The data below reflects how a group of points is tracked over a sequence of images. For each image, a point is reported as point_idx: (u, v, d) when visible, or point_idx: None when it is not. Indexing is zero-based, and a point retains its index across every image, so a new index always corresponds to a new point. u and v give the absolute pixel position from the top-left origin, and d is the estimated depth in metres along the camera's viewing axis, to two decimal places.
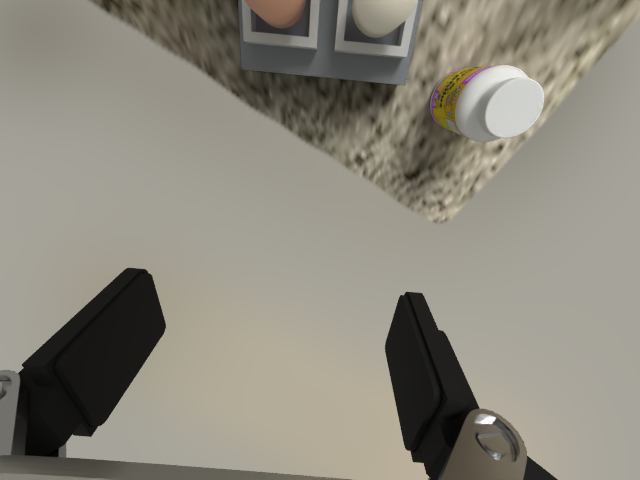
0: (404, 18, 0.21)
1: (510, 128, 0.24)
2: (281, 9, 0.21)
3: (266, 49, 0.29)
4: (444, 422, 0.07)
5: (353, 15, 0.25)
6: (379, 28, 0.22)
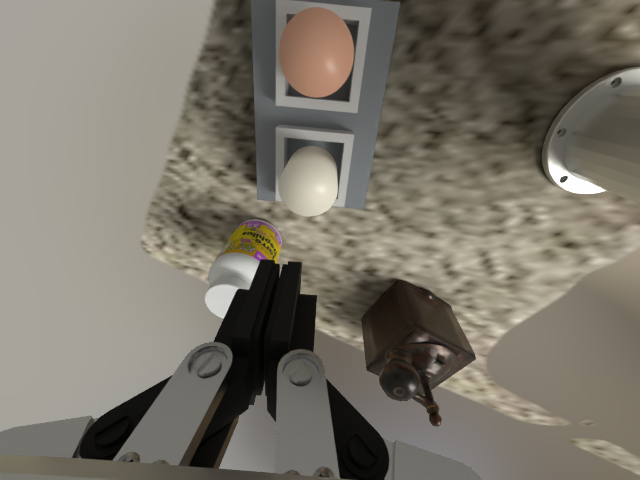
0: (287, 205, 0.23)
1: (213, 304, 0.27)
2: (288, 70, 0.18)
3: (275, 32, 0.23)
4: (274, 362, 0.08)
5: (302, 148, 0.25)
6: (279, 183, 0.22)
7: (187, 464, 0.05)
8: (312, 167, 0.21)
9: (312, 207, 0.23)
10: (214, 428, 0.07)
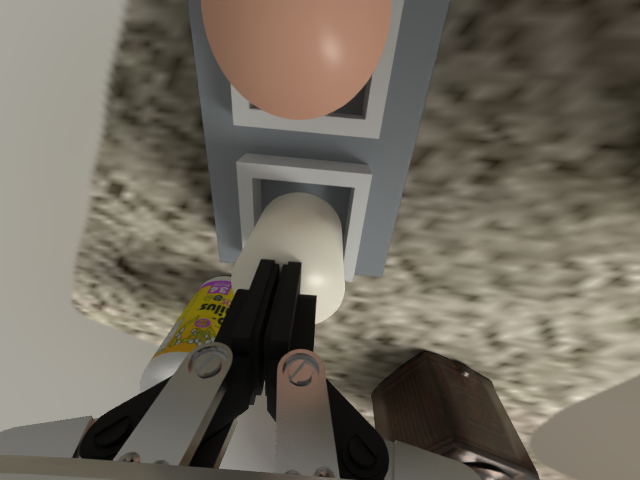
0: None
1: None
2: (228, 56, 0.07)
3: None
4: (274, 362, 0.08)
5: (282, 198, 0.14)
6: (232, 277, 0.12)
7: (187, 464, 0.05)
8: (294, 252, 0.11)
9: None
10: (214, 428, 0.07)
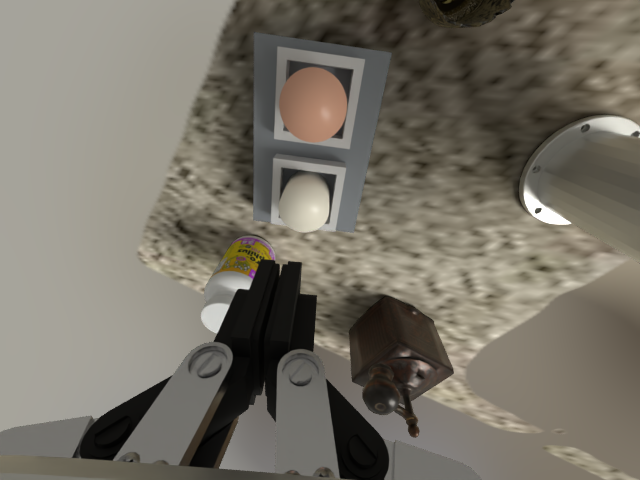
0: (285, 222, 0.27)
1: (208, 320, 0.29)
2: (286, 118, 0.20)
3: (275, 72, 0.25)
4: (274, 362, 0.08)
5: (299, 172, 0.29)
6: (279, 204, 0.26)
7: (187, 464, 0.05)
8: (308, 192, 0.25)
9: (307, 225, 0.27)
10: (214, 428, 0.07)
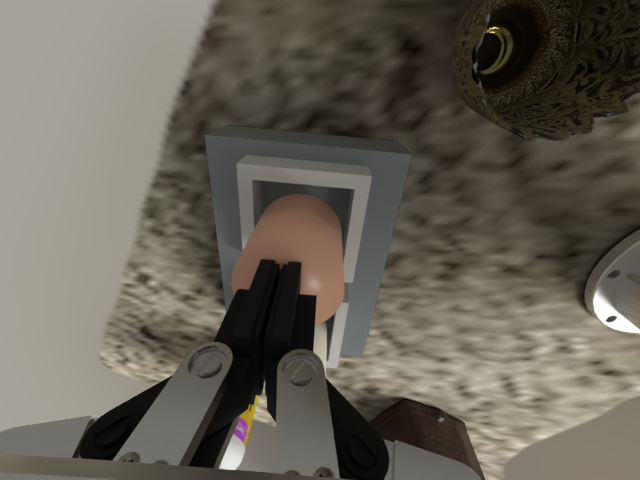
0: None
1: None
2: None
3: None
4: (274, 362, 0.08)
5: None
6: None
7: (187, 464, 0.05)
8: None
9: None
10: (214, 428, 0.07)
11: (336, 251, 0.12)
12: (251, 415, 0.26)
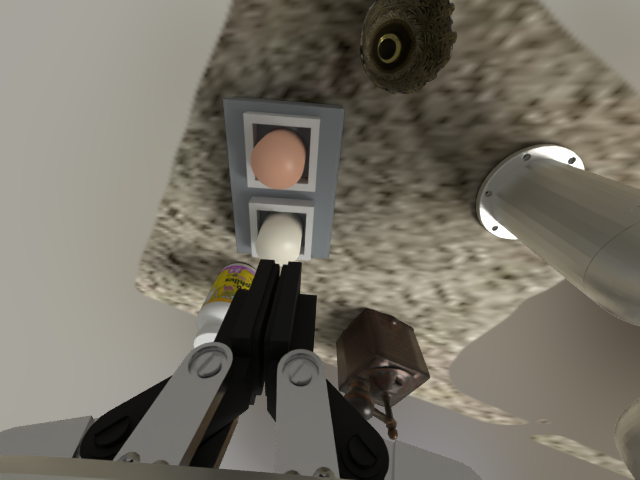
0: None
1: None
2: (257, 173, 0.25)
3: None
4: (274, 362, 0.08)
5: (274, 211, 0.32)
6: (255, 244, 0.29)
7: (187, 464, 0.05)
8: (279, 233, 0.28)
9: (282, 260, 0.30)
10: (214, 428, 0.07)
11: (299, 146, 0.25)
12: None
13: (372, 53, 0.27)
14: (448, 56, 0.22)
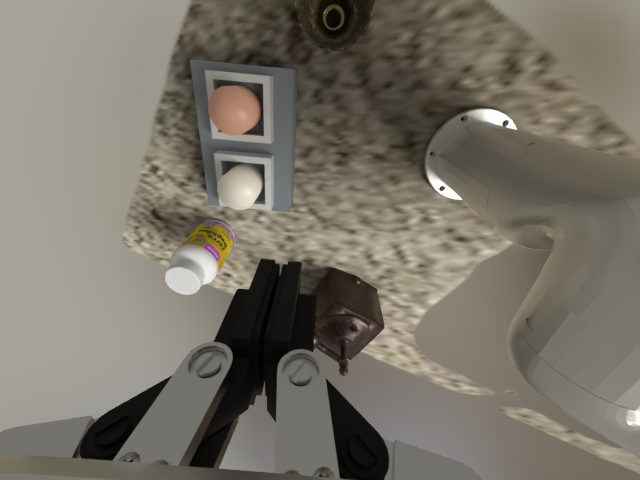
0: (225, 202, 0.35)
1: (171, 282, 0.37)
2: (215, 119, 0.30)
3: None
4: (274, 362, 0.08)
5: (237, 164, 0.36)
6: (217, 188, 0.34)
7: (187, 464, 0.05)
8: (237, 177, 0.33)
9: (241, 203, 0.35)
10: (214, 428, 0.07)
11: (250, 97, 0.29)
12: (223, 254, 0.42)
13: (317, 20, 0.31)
14: (369, 17, 0.26)
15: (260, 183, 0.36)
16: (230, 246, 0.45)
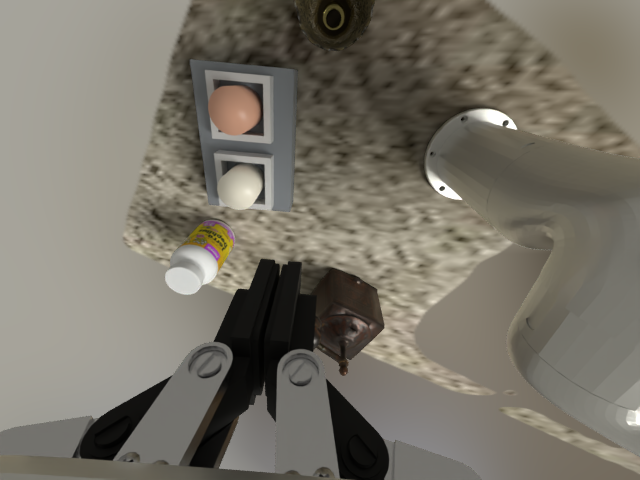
0: (225, 202, 0.35)
1: (171, 282, 0.37)
2: (215, 119, 0.30)
3: None
4: (274, 362, 0.08)
5: None
6: (217, 188, 0.34)
7: (187, 464, 0.05)
8: (237, 177, 0.33)
9: (241, 203, 0.35)
10: (214, 428, 0.07)
11: (250, 97, 0.29)
12: (223, 254, 0.42)
13: (317, 20, 0.31)
14: (369, 17, 0.26)
15: (260, 183, 0.36)
16: (230, 246, 0.45)
